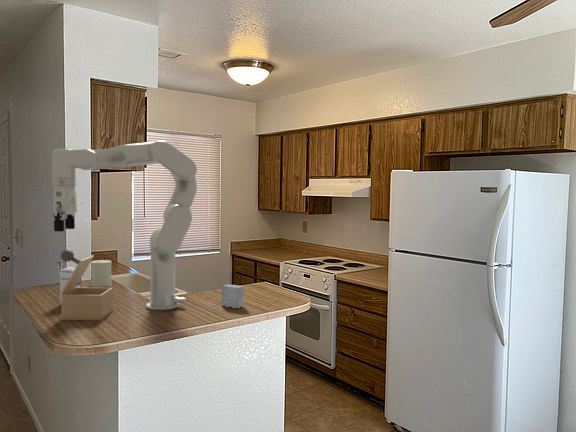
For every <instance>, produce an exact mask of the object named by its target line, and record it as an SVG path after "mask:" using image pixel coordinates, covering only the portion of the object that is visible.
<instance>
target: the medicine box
mask: <svg viewBox="0 0 576 432" xmlns="http://www.w3.org/2000/svg"><path fill="white" fill-rule="evenodd" d="M244 288H245V287H244V286H243V285H238V284H237V285H236V284H228V283H227V284H224V285H222V286H221V307H222V306H225V307H224V308H228V307H233V308H232V309H235V308H240V307H242V306H243V307H244V302H245V300H244V295H245V294H244V293H245V292H244ZM243 307H242V308H243ZM240 309H241V308H240Z"/></svg>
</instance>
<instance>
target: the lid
mask: <svg viewBox="0 0 576 432" xmlns="http://www.w3.org/2000/svg"><path fill="white" fill-rule="evenodd" d="M94 257H95V255H93V254H92V255H90V256H88V257H85V258H82V259H78V258H77V257H75V254H74V251H72V250H71V249H64V250H62V252H61V253H60V259H61V260H62V261H63V262H70V261H71V262H73V263H74V264H76V266H75V267H76V268H75V270H74V271H73V273H72V275H71V276H70V278H69V280H68V281H67V283H66V285H65V286H64V288H63V289H62V291H61V293H60V292H59V295H60V294H61V295H62V294H64V293H65V292H67V291H69V290H71V289H73V288H75V287H76V285H77V284H78V282H79V280H80V279H81V280H82V277H83V275H84V274H85V272H86V270H87V269H88V268H89V266H90V265H91V262H92V261H93V258H94Z"/></svg>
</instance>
